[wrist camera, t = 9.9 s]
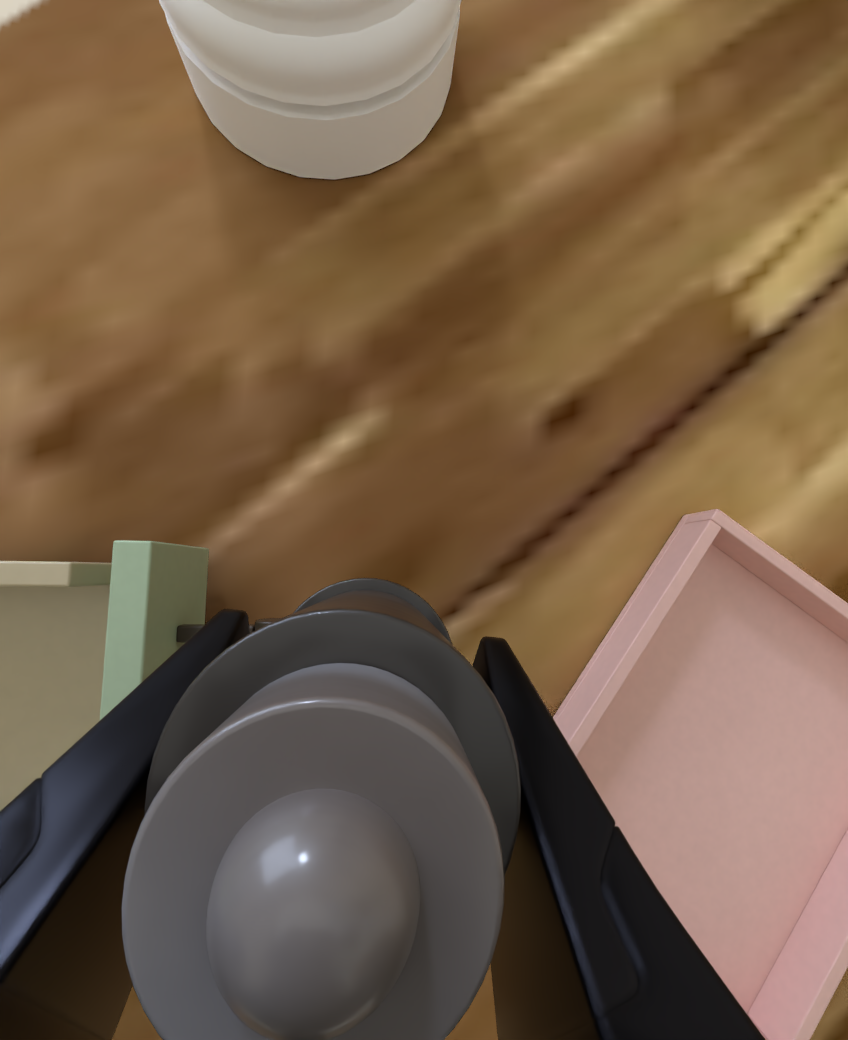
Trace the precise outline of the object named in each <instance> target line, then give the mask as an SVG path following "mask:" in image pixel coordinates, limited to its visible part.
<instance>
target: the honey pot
mask: <svg viewBox="0 0 848 1040" xmlns="http://www.w3.org/2000/svg"><path fill="white" fill-rule="evenodd" d="M159 2H160V5H161V7H162V8H163V10H164V12H165V15H166V20H167V23H168V25H169V28H170V30H171V33H172V35H173V38H174V40H175V43H176V45H177V48H178V50H179V53H180V55H181V58H182V60H183V63H184V65H185V68H186V70H187V73H188V75H189V78H190V81H191V83H192V86H193V88H194V91H195V93H196V95H197V97H198V99H199V101H200V102H201V104H202V106H203V108H204V110H205V111H206V113H207V115H208V117H209V119H210V120H211V122H212V124H213V125H214V126H215V127H216V128H217V129H218V130H219V131H220V132H221V133H222V134H223V135H224V136H225V137H226V138H227V139H228V140H229V141H230V142H231V143H232V144H233V145H234V146H235V147H236V148H237V149H239V150H241V151H242V152H244V153H245V154H247V155H249V156H250V157H252V158H254V159H255V160H257V161H258V162H260V163H262V164H263V165H265V166H267V167H270V168H273V169H276V170H280V171H283V172H286V173H289V174H292V175H295V176H298V177H306V178H320V179H333V180H336V179H342V178H348V177H354V176H360V175H366V174H370V173H372V172H374V171H377V170H379V169H381V168H383V167H386V166H388V165H390V164H392V163H395V162H397V161H399V160H400V159H402V158H403V157H404V156H405V155H407V154H408V153H409V152H410V151H411V150H413V149H414V148H415V147H416V146H417V145H419V144H420V143H421V142H422V141H424V139H425V138H426V136H427V135H428V133H429V132H430V131H431V129H432V128H433V126H434V125H435V123H436V122H437V120H438V119H439V117H440V116H441V114H442V111H443V108H444V105H445V101H446V98H447V95H448V92H449V89H450V85H451V77H452V70H453V62H454V55H455V47H456V40H457V32H458V25H459V17H460V4H461V0H159Z"/></svg>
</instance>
